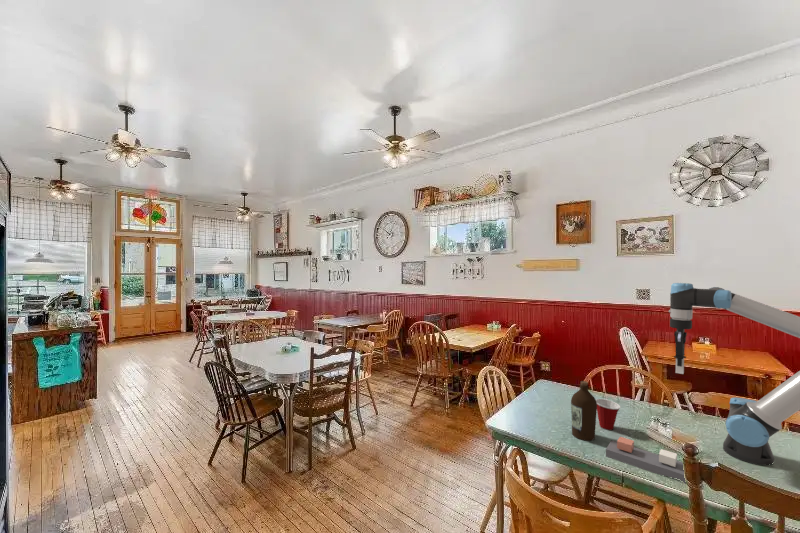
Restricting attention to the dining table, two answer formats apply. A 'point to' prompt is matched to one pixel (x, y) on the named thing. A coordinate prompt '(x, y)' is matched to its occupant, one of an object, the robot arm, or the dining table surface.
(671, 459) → the white key
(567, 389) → the dining table surface
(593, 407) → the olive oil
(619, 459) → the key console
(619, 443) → the salmon pink block
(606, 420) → the plastic cup
